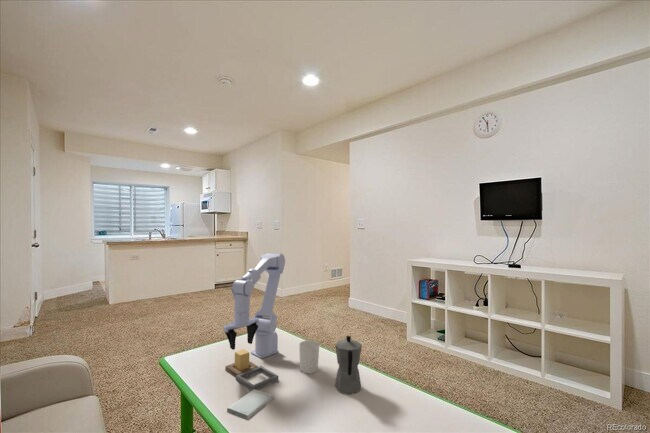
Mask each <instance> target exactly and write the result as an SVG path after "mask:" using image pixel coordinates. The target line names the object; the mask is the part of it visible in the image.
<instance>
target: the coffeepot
mask: <svg viewBox="0 0 650 433" xmlns="http://www.w3.org/2000/svg"><path fill="white" fill-rule="evenodd" d="M334 345H335V353H336V360H337V364H338V369H337V372H336V378H335V384H334V387H335V389H336V391H338V392H339V393H341V394H344V393H346V394H345V395H353V394H352V393H355V394H357V393H359V392H360V391H361V389H362V384H361V383H362V382H361V376H360V371H359V365H360V358H361V353H362V347H363V346H362V345H363V344H361V343H360V342H359V341H357V340H352V337H351V335H347V336H346V338H344V339H342V340H338V341H337V342H336V343H335V344H334ZM356 392H357V393H356Z"/></svg>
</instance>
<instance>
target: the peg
mask: <svg viewBox="0 0 650 433" xmlns="http://www.w3.org/2000/svg"><path fill="white" fill-rule="evenodd" d="M249 361H250V351H248V350H246V349H245V348H244V349H240V350H237V351H234V363H235V369H237V370H239V371H241V370H243V369H246V368H249Z"/></svg>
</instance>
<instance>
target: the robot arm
mask: <svg viewBox="0 0 650 433" xmlns="http://www.w3.org/2000/svg"><path fill="white" fill-rule="evenodd" d="M285 265H286V258H285V255H284V253H271V252H270V253H269V252H263V254H262V255H261V256H260V261H259V262H258V263H257V265H256V266H255V267H254V268H249V269H248V271H246V273H245V274H244V275H243V276H242V277H241V278H240V279H236V280H235V281H234V282H233V283H232V284H231V285H232V286H231V293H232V298H233V299H234V307H233V309H234V310H233V313H234V315H233V318H234V320H233V322H230V323H229V324H226V325H223V328H222V329H223V332H224V333H225V335H226V337H227V339H228V342H229V347H230V349H231V350H235V349H236V340H237V339H236V338H237V335H238V333H237V332H236V330H237V329H241V328H244V327H246V330H247V338H246V339H247V343H248V344H250V345H252V344H253V341H254V339H255V341H254V342H255V344H254V347H255V348H254V349H255V350H252V351H250V354H252V355H254V356H255V357H258V358H260V359H263V358H265V357H268V356H271V355H274V354H277V353H279V350H278V348H279V346H278V345H279V344H278V343H279V341H278V340H279V336H278V333H277V332H276V329H277V319H278V316H277V315H276V314H275V312H274V311H273V309H274V307H275V306H274V305H275V301H276V298H277V292H278V287H279V283H280V279H281V274H283V273H284V269H285ZM264 272H266V273H267V274H268V279H267V281H266V282H267V284H266V287H265V291H264V294H263V295H264V296H263V298H262V304H261V308H260V309H259V310H258V311H256V312H255V313H254V316H253V317H252V318H250V303H251V302H250V298H251V297H250V296H251V295H252V293H253V290H254V288H255V285H256V284H257V283H258V282H259V281H260V280H261V275H262V274H263V273H264ZM254 336H255V338H254Z"/></svg>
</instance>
